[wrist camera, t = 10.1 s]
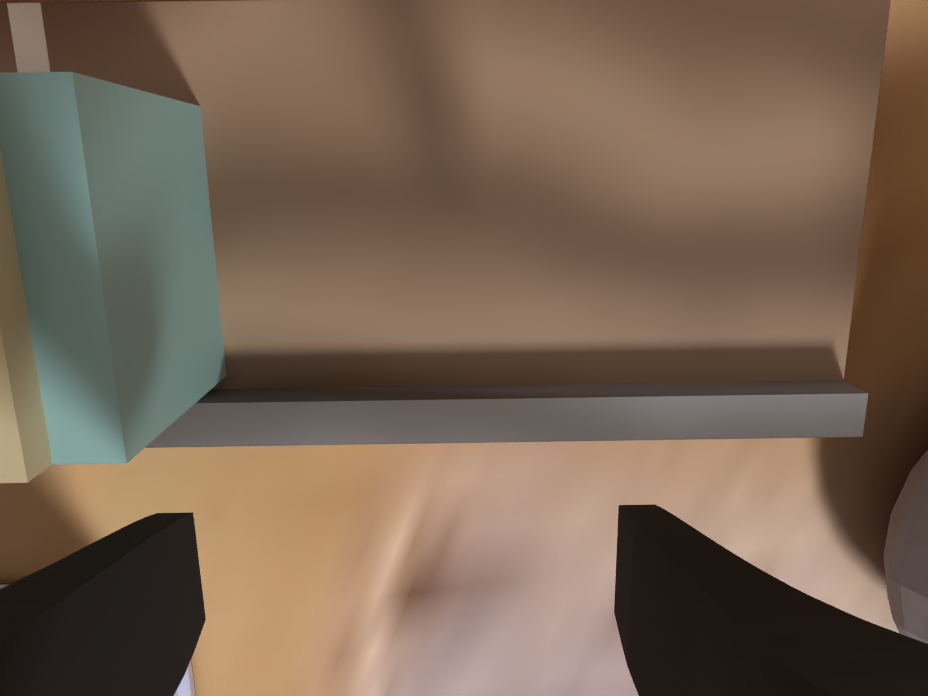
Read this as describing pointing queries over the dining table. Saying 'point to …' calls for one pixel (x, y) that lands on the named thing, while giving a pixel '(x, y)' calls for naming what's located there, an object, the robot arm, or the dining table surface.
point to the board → (512, 209)
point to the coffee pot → (909, 555)
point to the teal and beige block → (100, 271)
